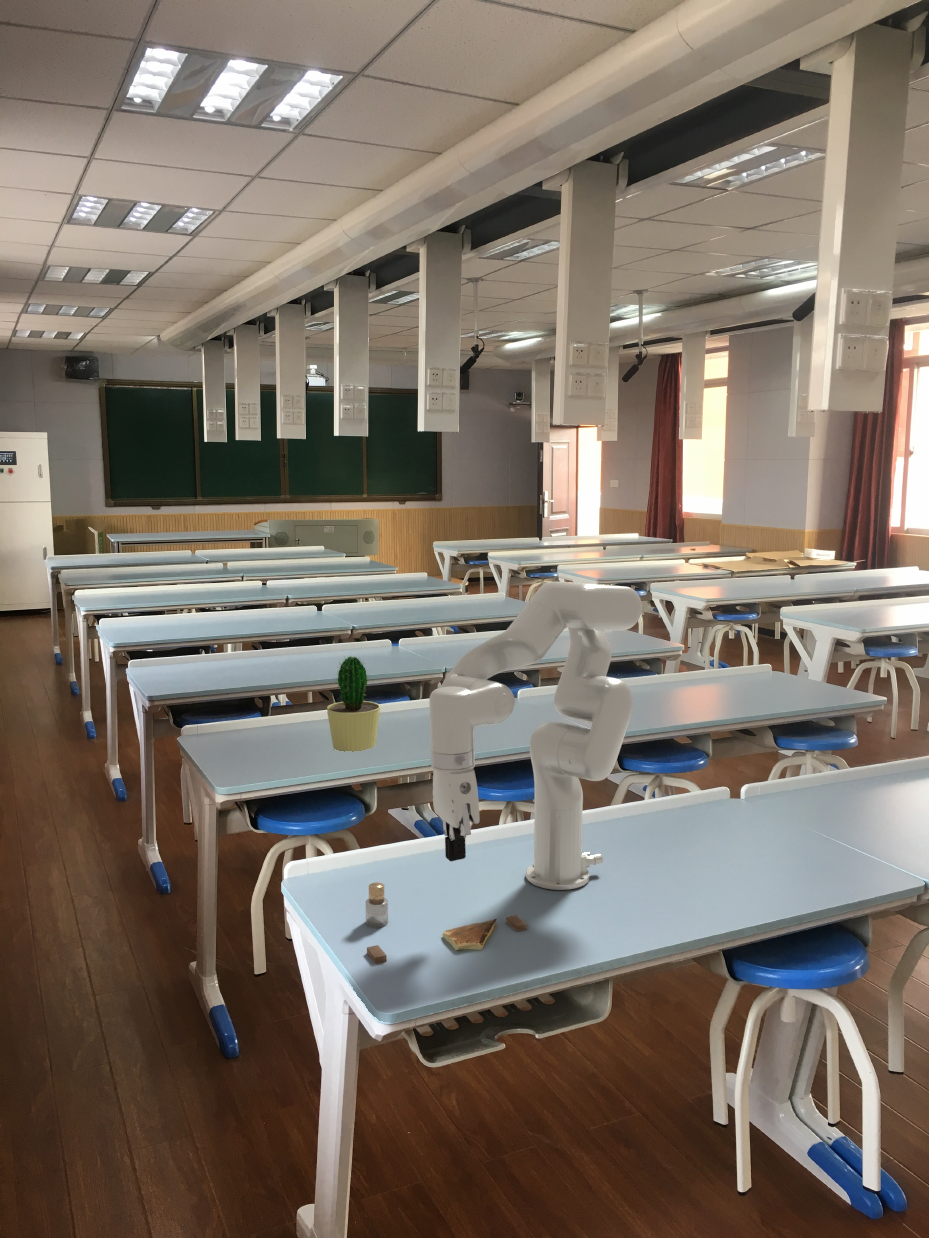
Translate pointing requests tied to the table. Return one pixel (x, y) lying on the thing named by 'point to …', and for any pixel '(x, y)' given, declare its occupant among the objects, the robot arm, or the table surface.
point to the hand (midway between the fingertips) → (455, 858)
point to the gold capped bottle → (376, 906)
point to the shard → (470, 935)
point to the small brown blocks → (380, 956)
